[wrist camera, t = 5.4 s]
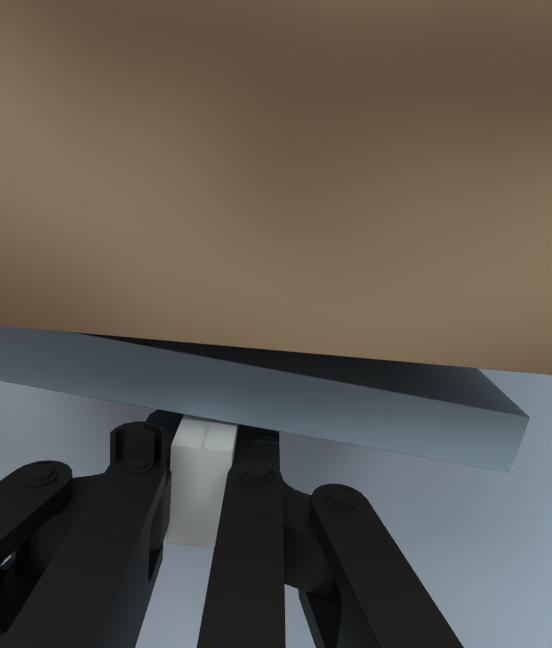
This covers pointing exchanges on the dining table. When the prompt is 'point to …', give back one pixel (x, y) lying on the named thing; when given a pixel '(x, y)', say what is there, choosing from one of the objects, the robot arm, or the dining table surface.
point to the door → (281, 391)
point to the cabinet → (282, 175)
